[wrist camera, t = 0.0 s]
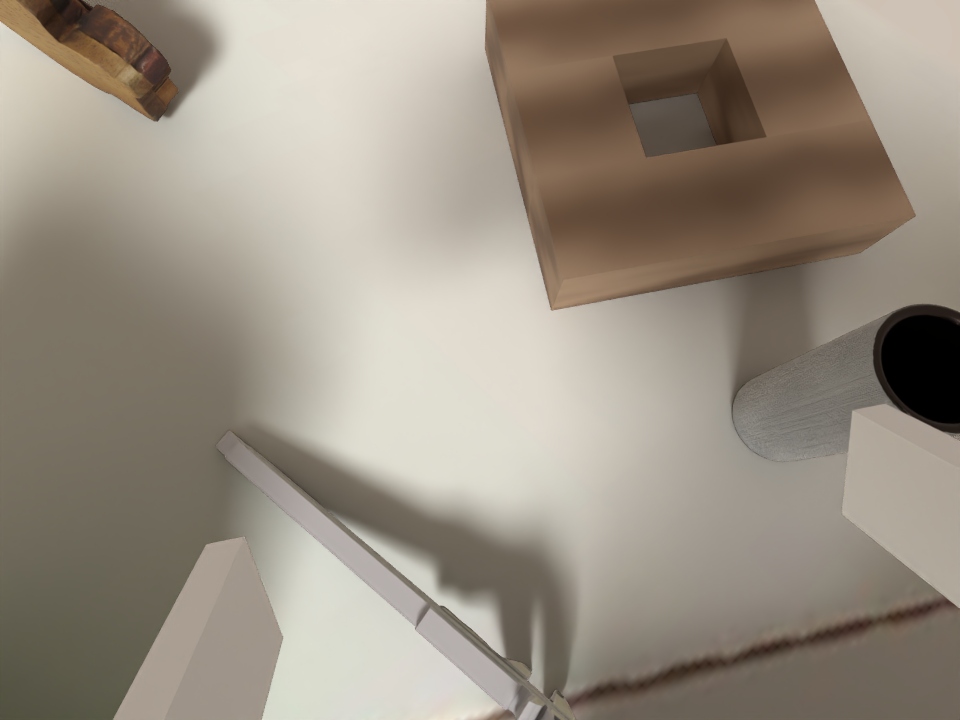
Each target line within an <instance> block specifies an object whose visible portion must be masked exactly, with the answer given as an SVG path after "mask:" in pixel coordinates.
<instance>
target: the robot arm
mask: <svg viewBox="0 0 960 720" xmlns="http://www.w3.org/2000/svg"><path fill="white" fill-rule="evenodd" d="M842 515H843V516H844V517H846V518H847V519H848V520H849V521H851V522H852V523H853V524H854V525H856V526H857V527H858V528H859V529H861V530H862V531H863V532H864V533H866V534H867V535H868V536H869V537H871V538H872V539H873V540H874V541H876V542H877V543H878V544H879V545H881V546H882V547H883V548H884V549H886V550H887V551H888V552H889V553H891V554H892V555H893V556H895V557H896V558H897V559H898V560H900V561H901V562H902V563H903V564H905V565H906V566H907V567H908V568H910V569H911V570H912V571H913V572H915V573H916V574H917V575H918V576H920V577H921V578H922V579H923V580H925V581H926V582H927V583H928V584H930V585H931V586H932V587H933V588H935V589H936V590H937V591H938V592H940V593H941V594H942V595H943V596H945V597H946V598H947V599H948V600H950V601H951V602H952V603H953V604H955V605H956V606H957V607H958V608H960V440H958V439H956V438H954V437H952V436H950V435H948V434H946V433H944V432H942V431H940V430H938V429H936V428H933V427H931V426H929V425H927V424H925V423H923V422H921V421H919V420H917V419H915V418H913V417H911V416H909V415H907V414H905V413H903V412H901V411H899V410H897V409H895V408H893V407H891V406H889V405H887V404H881V405H876V406H871V407H866V408H861V409H857V410H852V419H851V429H850V439H849V448H848V458H847V467H846V477H845V487H844V496H843V506H842ZM282 640H283V636H282V633H281V631H280V628H279V625H278V623H277V620H276V617H275V615H274V612H273V610H272V607H271V604H270V602H269V599H268V596H267V594H266V591H265V588H264V586H263V583H262V581H261V578H260V575H259V573H258V570H257V567H256V565H255V562H254V559H253V557H252V554H251V552H250V549H249V546H248V544H247V541H246V538H245V536H243V537H238V538H234V539H229V540H224V541H219V542H214V543H209V544H206V545H205V547H204V549H203V551H202V553H201V555H200V557H199V559H198V560H197V562H196V564H195V566H194V568H193V570H192V572H191V574H190V575H189V577H188V579H187V581H186V583H185V585H184V587H183V589H182V591H181V592H180V594H179V596H178V598H177V600H176V602H175V604H174V606H173V607H172V609H171V611H170V613H169V615H168V617H167V619H166V621H165V622H164V624H163V626H162V628H161V630H160V632H159V634H158V636H157V638H156V639H155V641H154V643H153V645H152V647H151V649H150V651H149V653H148V654H147V656H146V658H145V660H144V662H143V664H142V666H141V668H140V669H139V671H138V673H137V675H136V677H135V679H134V681H133V683H132V685H131V686H130V688H129V690H128V692H127V694H126V696H125V698H124V700H123V701H122V703H121V705H120V707H119V709H118V711H117V713H116V715H115V716H114V718H113V720H262V716H263V712H264V709H265V705H266V701H267V697H268V693H269V690H270V686H271V682H272V678H273V674H274V671H275V667H276V663H277V659H278V655H279V651H280V648H281V644H282Z"/></svg>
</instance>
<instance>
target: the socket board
mask: <svg viewBox="0 0 960 720" xmlns="http://www.w3.org/2000/svg"><path fill="white" fill-rule="evenodd" d="M485 50H486V54H487V58H488V62H489V66H490V70H491V74H492V78H493V82H494V86H495V90H496V94H497V98H498V102H499V106H500V110H501V114H502V118H503V122H504V126H505V129H506V133H507V137H508V141H509V145H510V149H511V153H512V157H513V161H514V165H515V169H516V173H517V177H518V181H519V185H520V189H521V193H522V197H523V201H524V205H525V208H526V212H527V216H528V220H529V224H530V228H531V232H532V236H533V240H534V244H535V248H536V252H537V256H538V260H539V264H540V268H541V272H542V276H543V280H544V284H545V287H546V291H547V295H548V299H549V303H550V307H551V310H556V309H562V308H567V307H573V306H578V305H583V304H589V303H594V302H599V301H605V300H610V299H616V298H621V297H626V296H632V295H637V294H642V293H648V292H653V291H659V290H664V289H669V288H675V287H680V286H685V285H691V284H696V283H702V282H707V281H712V280H718V279H723V278H728V277H734V276H739V275H745V274H750V273H755V272H761V271H766V270H771V269H777V268H782V267H788V266H793V265H798V264H804V263H809V262H814V261H820V260H825V259H831V258H836V257H841V256H847V255H852V254H857V253H861V252H862V251H864V250H865V249H867V248H868V247H870V246H871V245H873V244H874V243H876V242H877V241H879V240H880V239H882V238H883V237H885V236H886V235H888V234H889V233H891V232H892V231H894V230H895V229H897V228H898V227H900V226H901V225H903V224H904V223H906V222H907V221H909V220H910V219H912V218H913V217H915V216H916V215H915V213H914V210H913V208H912V206H911V204H910V202H909V200H908V198H907V196H906V193H905V191H904V189H903V187H902V185H901V183H900V181H899V179H898V176H897V174H896V172H895V170H894V168H893V166H892V164H891V162H890V160H889V157H888V155H887V153H886V151H885V149H884V147H883V145H882V143H881V140H880V138H879V136H878V134H877V132H876V130H875V128H874V126H873V123H872V121H871V119H870V117H869V115H868V113H867V111H866V109H865V106H864V104H863V102H862V100H861V98H860V96H859V94H858V92H857V90H856V87H855V85H854V83H853V81H852V79H851V77H850V75H849V73H848V70H847V68H846V66H845V64H844V62H843V60H842V58H841V56H840V53H839V51H838V49H837V47H836V45H835V43H834V41H833V39H832V36H831V34H830V32H829V30H828V28H827V26H826V24H825V22H824V20H823V17H822V15H821V13H820V11H819V9H818V7H817V5H816V3H815V0H486V33H485ZM693 93H698V96H699V99H700V101H701V104H702V107H703V109H704V112H705V115H706V117H707V120H708V123H709V126H710V128H711V131H712V134H713V136H714V139H715V142H716V144H717V146H711V147H706V148H700V149H694V150H688V151H682V152H676V153H670V154H664V155H658V156H652V157H646V156H645V153H644V150H643V147H642V144H641V141H640V138H639V135H638V132H637V129H636V126H635V123H634V120H633V117H632V113H631V110H630V107H629V104H631V103H638V102H644V101H650V100H656V99H662V98H669V97H675V96H681V95H687V94H693Z"/></svg>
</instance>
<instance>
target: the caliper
mask: <svg viewBox="0 0 960 720" xmlns="http://www.w3.org/2000/svg"><path fill="white" fill-rule="evenodd" d="M215 446H216V447H217V449H218V450H219V451H220V452H221V453H223V454H224V455H225V456H226V457H225V459H226V460H227V461H228V462H229V463H230V464H232V465H233V466H234V467H235V468H236V469H237V470H238V471H240V472H241V473H242V474H243V475H244V476H245V477H246V478H247V479H249V480H250V481H251V482H252V483H253V484H254V485H255V486H256V487H258V488H259V489H260V490H261V491H262V492H263V493H264V494H266V495H267V496H268V497H269V498H270V499H271V500H272V501H273V502H275V503H276V504H277V505H278V506H279V507H280V508H281V509H283V510H284V511H285V512H286V513H287V514H288V515H289V516H290V517H292V518H293V519H294V520H295V521H296V522H297V523H298V524H300V525H301V526H302V527H303V528H304V529H305V530H306V531H307V532H309V533H310V534H311V535H312V536H313V537H314V538H315V539H317V540H318V541H319V542H320V543H321V544H322V545H323V546H324V547H326V548H327V549H328V550H329V551H330V552H331V553H332V554H334V555H335V556H336V557H337V558H338V559H339V560H340V561H341V562H343V563H344V564H345V565H346V566H347V567H348V568H349V569H351V570H352V571H353V572H354V573H355V574H356V575H357V576H358V577H360V578H361V579H362V580H363V581H364V582H365V583H366V584H368V585H369V586H370V587H371V588H372V589H373V590H374V591H375V592H377V593H378V594H379V595H380V596H381V597H382V598H383V599H385V600H386V601H387V602H388V603H389V604H390V605H391V606H393V607H394V608H395V609H396V610H397V611H398V612H399V613H400V614H402V615H403V616H404V617H405V618H406V619H407V620H408V621H410V622H411V623H412V624H413V625H414V626H415V630H416V631H417V632H418V633H419V634H421V635H422V636H423V637H424V638H425V639H426V640H427V641H428V642H430V643H431V644H432V645H433V646H434V647H435V648H436V649H437V650H439V651H440V652H441V653H442V654H443V655H444V656H445V657H446V658H448V659H449V660H450V661H451V662H452V663H453V664H454V665H455V666H457V667H458V668H459V669H460V670H461V671H462V672H463V673H464V674H465V675H467V676H468V677H469V678H470V679H471V680H472V681H473V682H474V683H476V684H477V685H478V686H479V687H480V688H481V689H482V690H483V691H485V692H486V693H487V694H488V695H489V696H490V697H491V698H492V699H494V700H495V701H496V702H497V703H498V704H499V705H500V706H502V707H503V708H504V709H505V710H507V709H509V710H510V711H511V712H513V713H514V714H515V715H514V716H515V717H516V719H515V720H576V719H575V717H574V715H573V713H572V710H571V708H570V706H569V704H568V702H567V701H566V699H565V698H564V697H563V696H562V695H561V694H560V693H559V692H558V691H557V690H556V689H555V691H554V692H553V694H552V696H551V697H550V699H548V698H547V697H546V696H544V695H543V694H542V693H541V692H540V691H539V690H538V689H536V688H535V687H534V686H533V685H532V684H530V683H529V682H528V681H527V680H528V679H529V677H530V675H531V674H532V673H531V671H532V670H531V669H530V668H529V667H527V666H526V665H525V664H523V663H521V662H518V661H514V660H510V659H506V658H503V657H501V656H500V655H499V654H498V653H496V652H495V651H494V650H493V649H492V648H490V647H489V646H488V644H487V643H486V642H485V641H484V640H482V639H481V638H480V637H479V636H478V635H477V634H476V633H475V632H474V631H473V630H472V629H471V628H469V627H468V626H467V625H466V624H464V623H463V622H462V621H460V620H459V619H458V618H457V617H456V616H455V615H454V614H453V613H452V612H451V611H449V610H448V609H447V608H446V607H444V606H439V605H438V604H437V603H435V602H434V601H433V600H432V599H431V598H429V597H428V596H427V595H426V594H425V593H424V592H422V591H421V590H420V589H419V588H418V587H417V586H415V585H414V584H413V583H412V582H411V581H409V580H408V579H407V578H406V577H405V576H404V575H402V574H401V573H400V572H399V571H398V570H396V569H395V568H394V567H393V566H392V565H391V564H389V563H388V562H387V561H386V560H385V559H384V558H382V557H381V556H380V555H379V554H378V553H376V552H375V551H374V550H373V549H372V548H371V547H369V546H368V545H367V544H366V543H365V542H363V541H362V540H361V539H360V538H359V537H358V536H356V535H355V534H354V533H353V532H352V531H351V530H349V529H348V528H347V527H346V526H345V525H343V524H342V523H341V522H340V521H339V520H338V519H336V518H335V517H334V516H333V515H332V514H331V513H329V512H328V511H327V510H326V509H325V508H324V507H322V506H321V505H320V504H319V503H318V502H316V501H315V500H314V499H313V498H312V497H311V496H309V495H308V494H307V493H306V492H305V491H304V490H302V489H301V488H300V487H299V486H298V485H297V484H295V483H294V482H293V481H292V480H291V479H289V478H288V477H287V476H286V475H285V474H284V473H282V472H281V471H280V470H279V469H278V468H277V467H275V466H274V465H273V464H272V463H270V462H269V461H268V460H267V459H265V458H264V457H263V456H262V455H260V454H259V453H258V452H257V451H255V450H254V449H253V448H252V447H250V446H248V445H247V444H246V443H244V442H243V441H242V440H241V439H240V438H239V437H238V436H236V435H235V434H234V433H233V432H231V431H230V430H228V431H227V433H226V434H225V435H224V436H223V437H222V438H221V440H220V441H219V442H218V443H217V444H216V445H215Z"/></svg>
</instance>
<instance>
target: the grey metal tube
mask: <svg viewBox="0 0 960 720" xmlns="http://www.w3.org/2000/svg"><path fill="white" fill-rule="evenodd" d="M881 404H887V405H889V406H891V407H893V408H895V409H897V410H899V411H901V412H903V413H905V414H907V415H909V416H911V417H913V418H915V419H917V420H919V421H921V422H923V423H925V424H927V425H929V426H931V427H933V428H936V429H938V430H940V431H942V432H944V433H946V434H948V435H950V436H954V435H960V312H958V311H955V310H953V309H950V308H947V307H943V306H939V305H933V304H916V305H910V306H906V307H903V308H901V309H898V310H896V311H894V312H892V313H889V314H887V315H885V316H883V317H881V318H879V319H877V320H875V321H873V322H870V323H868V324H866V325H864V326H862V327H860V328H858V329H856V330H854V331H851V332H849V333H847V334H845V335H843V336H841V337H839V338H837V339H835V340H832V341H830V342H828V343H826V344H824V345H822V346H820V347H818V348H816V349H813V350H811V351H809V352H807V353H805V354H803V355H801V356H799V357H797V358H795V359H792V360H790V361H788V362H786V363H784V364H782V365H780V366H778V367H776V368H773V369H771V370H769V371H767V372H765V373H763V374H761V375H759V376H757V377H755V378H753V379H752V380H750V381H748V382H747V383H746V384H744V385H743V386H742V387H741V389H740V390H739V391H738V393H737V395H736V397H735V400H734V403H733V421H734V425H735V428H736V430H737V432H738V434H739V436H740V438H741V439H742V440H743V442H744V443H745V444H746V445H747V446H748V447H749V448H750V449H751V450H752V451H754V452H755V453H757V454H758V455H760V456H762V457H764V458H767V459H770V460H774V461H795V460H802V459H808V458H815V457H821V456H827V455H834V454H840V453H846V452H848V448H849V439H850V429H851V419H852V410H857V409H861V408H866V407H871V406H876V405H881Z"/></svg>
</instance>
